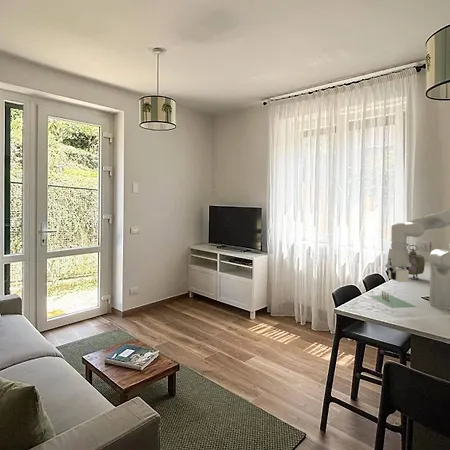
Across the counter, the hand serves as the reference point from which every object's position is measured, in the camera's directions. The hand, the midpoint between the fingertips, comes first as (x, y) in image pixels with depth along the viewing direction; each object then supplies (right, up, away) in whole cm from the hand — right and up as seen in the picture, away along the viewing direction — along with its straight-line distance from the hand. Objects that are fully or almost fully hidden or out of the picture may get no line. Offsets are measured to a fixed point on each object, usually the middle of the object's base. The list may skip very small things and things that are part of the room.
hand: (398, 278), depth 188 cm
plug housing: (0, -1, 0) cm, 1 cm away
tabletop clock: (+45, -11, +70) cm, 84 cm away
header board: (-1, -15, +7) cm, 16 cm away
